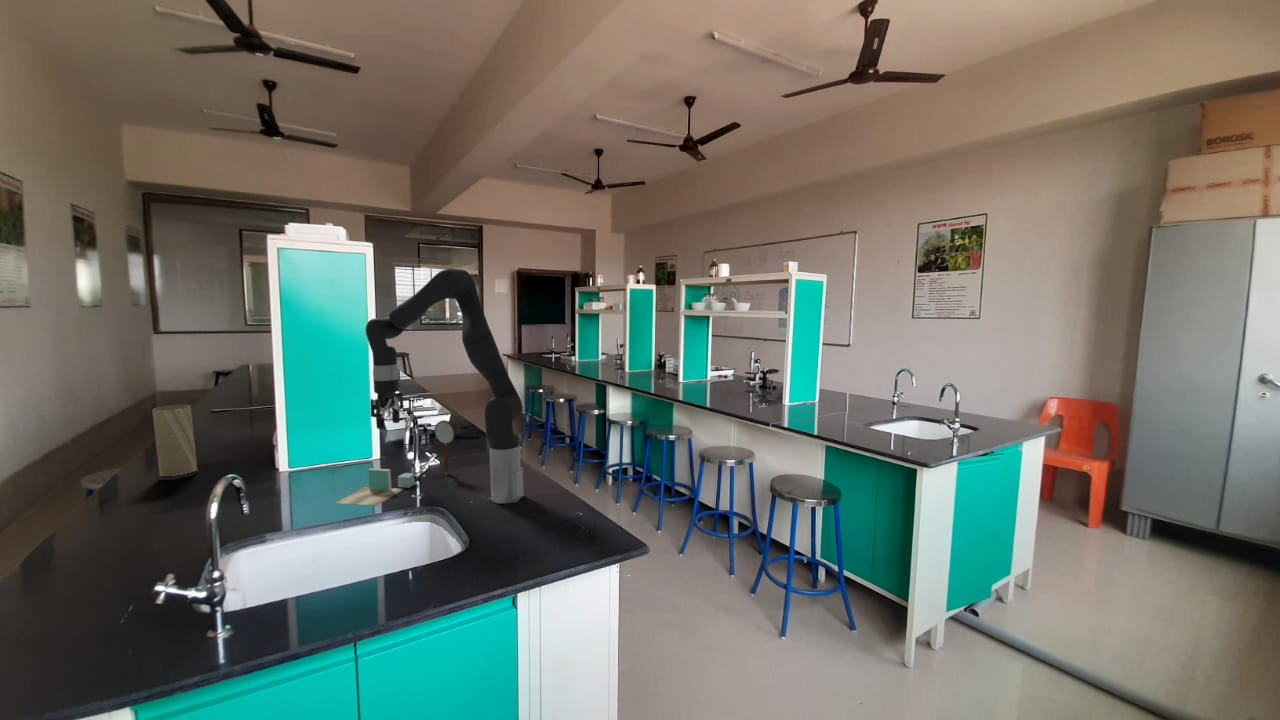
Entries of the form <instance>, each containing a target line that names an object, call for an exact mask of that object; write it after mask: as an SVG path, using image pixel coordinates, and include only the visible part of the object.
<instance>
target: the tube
mask: <svg viewBox="0 0 1280 720" xmlns="http://www.w3.org/2000/svg"><path fill="white" fill-rule="evenodd" d="M151 411H152V421H153V427H154V428H153V429H154V438H155V445H156V446H155V448H156V455H157V461H158V463H157V464H158V470H159V471H158V472H159V477H160V476H177V475H183V474H187V473H191V472H194V471H196V470H197V471H198V465H197V456H196V455H197V454H196V445H195V437H194V426H193V418H192V416H193V415H192V408H191V404H172V405H171V404H170V405H166V406H165V405H163V406H158V407H155V408H152V410H151Z"/></svg>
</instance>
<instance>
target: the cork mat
mask: <svg viewBox="0 0 1280 720" xmlns="http://www.w3.org/2000/svg"><path fill="white" fill-rule="evenodd" d="M403 490H404V488H395V487H394V488H393V487H392V490H391V491H374V490H369V486H364V487H362V488H360V489H359V490H356V491H355V492H353V493H351V494H349V495H347V496H346V497H344V498H342V499H340V500H338V501H336V502H335V504H341V505H342V504H343V505H359V506H372V507H373V506H375V507H377V506H379V505H380V504H382V503H384V502H385V501H387V500H388V499H390V498H392V497H393V496H395V495H397V494H399V492H401V491H403Z"/></svg>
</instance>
